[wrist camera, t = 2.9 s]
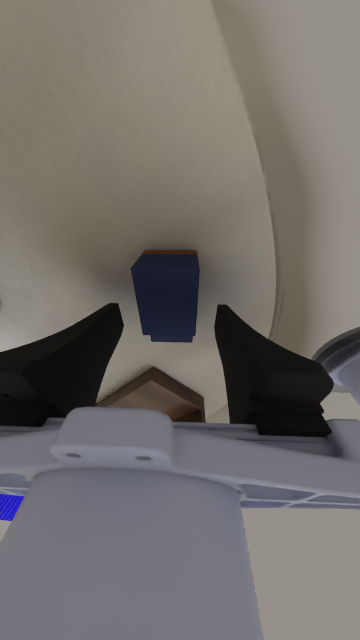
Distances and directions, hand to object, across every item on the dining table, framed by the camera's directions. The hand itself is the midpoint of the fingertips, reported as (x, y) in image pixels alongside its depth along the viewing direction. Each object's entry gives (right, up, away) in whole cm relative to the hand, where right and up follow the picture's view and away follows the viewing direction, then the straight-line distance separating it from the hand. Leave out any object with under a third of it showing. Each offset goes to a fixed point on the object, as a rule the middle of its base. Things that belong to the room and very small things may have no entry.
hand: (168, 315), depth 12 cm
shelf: (-12, -19, +19) cm, 29 cm away
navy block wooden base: (0, +2, +3) cm, 3 cm away
